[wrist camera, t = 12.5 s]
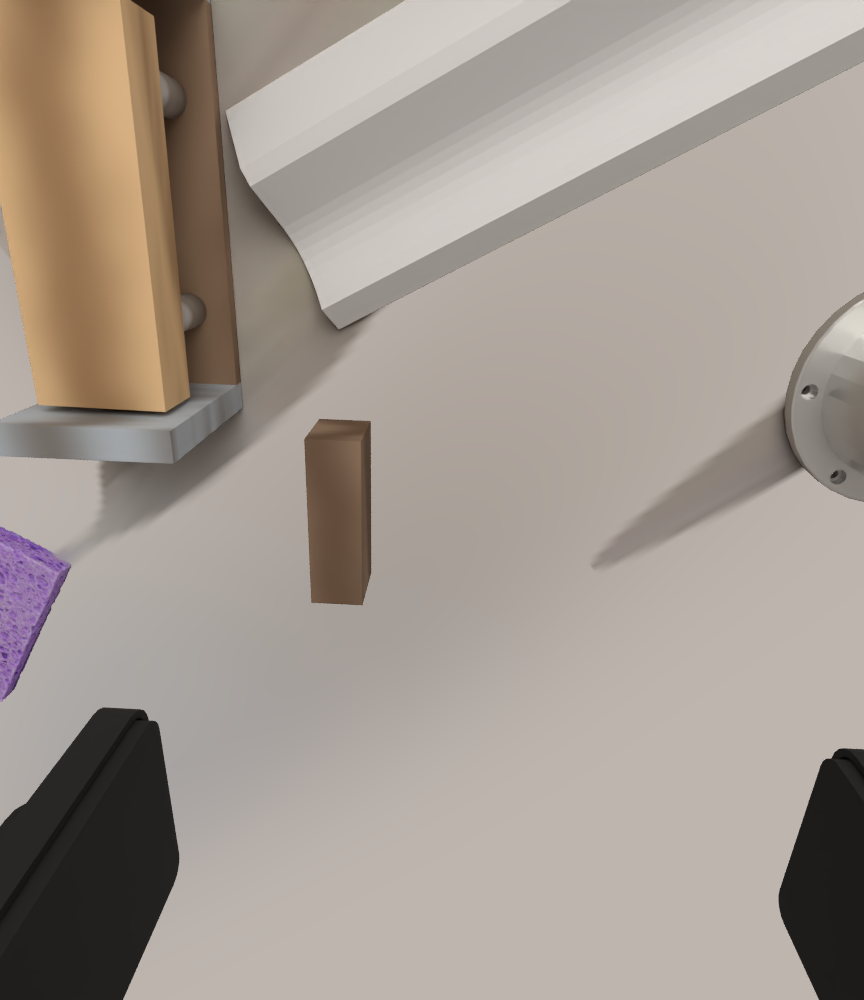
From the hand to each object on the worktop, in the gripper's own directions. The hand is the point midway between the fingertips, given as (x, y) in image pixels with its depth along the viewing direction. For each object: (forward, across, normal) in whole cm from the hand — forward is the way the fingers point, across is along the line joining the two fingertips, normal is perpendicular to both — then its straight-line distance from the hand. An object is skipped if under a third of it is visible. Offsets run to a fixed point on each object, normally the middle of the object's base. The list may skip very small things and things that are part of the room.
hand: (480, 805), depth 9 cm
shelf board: (+25, +17, -7) cm, 31 cm away
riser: (+30, +7, +8) cm, 32 cm away
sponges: (+31, +31, +17) cm, 47 cm away
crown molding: (+31, -4, -15) cm, 35 cm away
